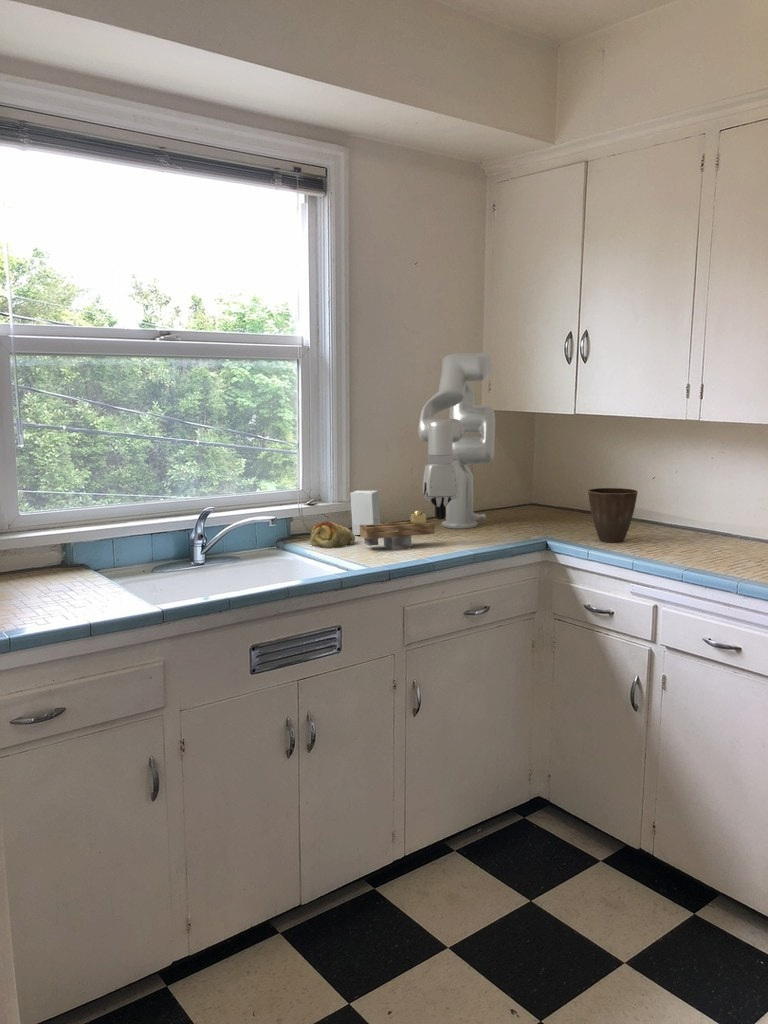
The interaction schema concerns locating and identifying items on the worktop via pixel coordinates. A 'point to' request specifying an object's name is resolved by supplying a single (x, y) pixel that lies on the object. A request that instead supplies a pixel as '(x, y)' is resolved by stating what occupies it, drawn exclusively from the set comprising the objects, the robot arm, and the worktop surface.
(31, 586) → the worktop surface
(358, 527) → the skincare box
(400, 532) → the beam
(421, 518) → the perfume bottle
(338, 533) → the pastry
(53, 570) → the worktop surface
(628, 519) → the plant pot
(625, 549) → the worktop surface
